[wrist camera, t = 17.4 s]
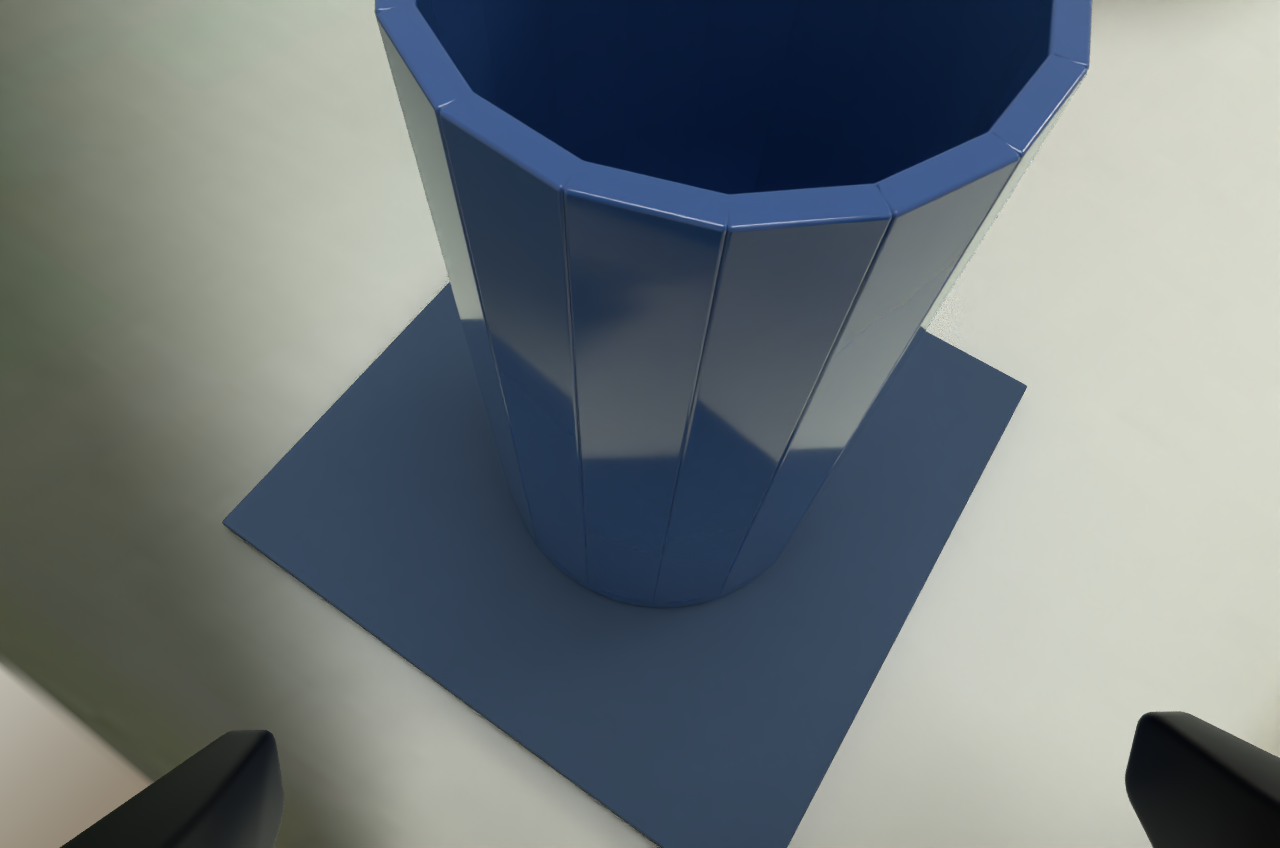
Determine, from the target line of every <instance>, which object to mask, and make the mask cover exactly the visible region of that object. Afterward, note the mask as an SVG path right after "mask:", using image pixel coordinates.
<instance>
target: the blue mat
mask: <svg viewBox="0 0 1280 848" xmlns="http://www.w3.org/2000/svg"><path fill="white" fill-rule="evenodd" d="M1026 388H1027V386H1026V385H1025V384H1023V383H1021V382H1019V381H1017V380H1015V379H1013V378H1012V377H1010V376H1008V375H1006V374H1004V373H1002V372H1000V371H999V370H997V369H995V368H993V367H991V366H989V365H987V364H986V363H984V362H982V361H980V360H978V359H976V358H974V357H973V356H971V355H969V354H967V353H965V352H963V351H961V350H959V349H958V348H956V347H954V346H952V345H950V344H948V343H946V342H945V341H943V340H941V339H939V338H937V337H935V336H933V335H932V334H930V333H928V332H926V331H925V332H924V334H923V335H922V337H921V339H920V340H919V342H918V343H917V345H916V346H915V348H914V350H913V351H912V353H911V354H910V356H909V358H908V359H907V361H906V362H905V364H904V366H903V367H902V369H901V370H900V372H899V374H898V375H897V377H896V378H895V380H894V381H893V383H892V385H891V386H890V388H889V389H888V391H887V393H886V394H885V396H884V397H883V399H882V401H881V402H880V404H879V405H878V407H877V409H876V410H875V412H874V413H873V415H872V416H871V418H870V420H869V421H868V423H867V424H866V426H865V428H864V429H863V431H862V432H861V434H860V436H859V437H858V439H857V440H856V442H855V443H854V445H853V447H852V448H851V450H850V451H849V453H848V455H847V456H846V458H845V459H844V461H843V463H842V464H841V466H840V467H839V469H838V471H837V472H836V474H835V475H834V477H833V478H832V480H831V482H830V483H829V485H828V486H827V488H826V490H825V491H824V493H823V494H822V496H821V498H820V499H819V501H818V502H817V504H816V506H815V507H814V509H813V510H812V512H811V513H810V515H809V517H808V518H807V520H806V521H805V522H804V524H803V525H802V526H801V528H800V529H799V531H798V532H797V533H796V535H795V536H794V538H793V539H792V540H791V542H790V544H789V545H788V547H787V548H786V550H785V551H784V552H783V553H782V554H781V556H780V557H779V558H778V560H777V561H776V562H775V563H774V564H773V565H772V566H771V567H769V568H768V569H767V570H766V571H765V572H764V573H763V574H761V575H760V576H759V577H758V578H756V579H755V580H753V581H752V582H750V583H749V584H747V585H746V586H744V587H743V588H741V589H739V590H737V591H734V592H732V593H730V594H728V595H726V596H724V597H721V598H718V599H715V600H712V601H709V602H706V603H702V604H697V605H691V606H686V607H673V608H655V607H642V606H636V605H632V604H627V603H622V602H618V601H615V600H613V599H610V598H607V597H604V596H601V595H599V594H597V593H595V592H593V591H591V590H589V589H587V588H585V587H583V586H581V585H579V584H578V583H577V582H575V581H574V580H572V579H571V578H569V577H568V576H566V575H565V574H563V573H562V572H561V571H560V570H559V569H558V568H557V567H556V566H555V565H553V564H552V563H551V562H550V561H549V560H548V559H547V558H546V556H545V555H544V554H543V553H542V552H541V551H540V549H539V548H538V547H537V546H536V545H535V543H534V541H533V540H532V538H531V537H530V535H529V534H528V532H527V530H526V529H525V527H524V525H523V522H522V520H521V518H520V516H519V514H518V511H517V508H516V506H515V504H514V502H513V500H512V498H511V497H510V494H509V491H508V487H507V484H506V480H505V477H504V473H503V470H502V466H501V462H500V459H499V455H498V452H497V448H496V445H495V441H494V437H493V434H492V430H491V427H490V423H489V419H488V416H487V412H486V409H485V405H484V402H483V398H482V394H481V391H480V387H479V384H478V380H477V376H476V373H475V369H474V366H473V362H472V359H471V355H470V351H469V348H468V344H467V341H466V337H465V334H464V330H463V326H462V323H461V319H460V316H459V312H458V308H457V305H456V301H455V298H454V294H453V291H452V287H451V283H450V282H449V283H448V284H447V285H446V286H445V287H444V289H443V290H442V291H441V292H440V293H439V294H438V295H437V296H436V297H435V298H434V299H433V300H432V301H431V302H430V303H429V304H428V305H427V306H426V307H425V309H424V310H423V311H422V312H421V313H420V314H419V315H418V316H417V317H416V318H415V319H414V320H413V321H412V322H411V323H410V324H409V325H408V326H407V327H406V329H405V330H404V331H403V332H402V333H401V334H400V335H399V336H398V337H397V338H396V339H395V340H394V341H393V342H392V343H391V344H390V345H389V346H388V348H387V349H386V350H385V351H384V352H383V353H382V354H381V355H380V356H379V357H378V358H377V359H376V360H375V361H374V362H373V363H372V364H371V365H370V366H369V368H368V369H367V370H366V371H365V372H364V373H363V374H362V375H361V376H360V377H359V378H358V379H357V380H356V381H355V382H354V383H353V384H352V385H351V386H350V388H349V389H348V390H347V391H346V392H345V393H344V394H343V395H342V396H341V397H340V398H339V399H338V400H337V401H336V402H335V403H334V404H333V405H332V406H331V408H330V409H329V410H328V411H327V412H326V413H325V414H324V415H323V416H322V417H321V418H320V419H319V420H318V421H317V422H316V423H315V424H314V425H313V427H312V428H311V429H310V430H309V431H308V432H307V433H306V434H305V435H304V436H303V437H302V438H301V439H300V440H299V441H298V442H297V443H296V444H295V445H294V447H293V448H292V449H291V450H290V451H289V452H288V453H287V454H286V455H285V456H284V457H283V458H282V459H281V460H280V461H279V462H278V463H277V464H276V465H275V467H274V468H273V469H272V470H271V471H270V472H269V473H268V474H267V475H266V476H265V477H264V478H263V479H262V480H261V481H260V482H259V483H258V484H257V485H256V487H255V488H254V489H253V490H252V491H251V492H250V493H249V494H248V495H247V496H246V497H245V498H244V499H243V500H242V501H241V502H240V503H239V504H238V506H237V507H236V508H235V509H234V510H233V511H232V512H231V513H230V514H229V515H228V516H227V517H226V518H225V519H224V520H223V522H222V523H223V524H224V525H225V526H226V527H227V528H229V529H230V530H231V531H233V532H234V533H235V534H237V535H238V536H240V537H241V538H242V539H244V540H245V541H246V542H248V543H249V544H250V545H252V546H253V547H254V548H256V549H257V550H259V551H260V552H261V553H263V554H264V555H265V556H267V557H268V558H269V559H271V560H272V561H273V562H275V563H276V564H277V565H279V566H280V567H282V568H283V569H284V570H286V571H287V572H288V573H290V574H291V575H292V576H294V577H295V578H296V579H298V580H299V581H300V582H302V583H303V584H305V585H306V586H307V587H309V588H310V589H311V590H313V591H314V592H315V593H317V594H318V595H319V596H321V597H322V598H324V599H325V600H326V601H328V602H329V603H330V604H332V605H333V606H334V607H336V608H337V609H338V610H340V611H341V612H342V613H344V614H345V615H347V616H348V617H349V618H351V619H352V620H353V621H355V622H356V623H357V624H359V625H360V626H361V627H363V628H364V629H365V630H367V631H368V632H370V633H371V634H372V635H374V636H375V637H376V638H378V639H379V640H380V641H382V642H383V643H384V644H386V645H387V646H389V647H390V648H391V649H393V650H394V651H395V652H397V653H398V654H399V655H401V656H402V657H403V658H405V659H406V660H407V661H409V662H410V663H412V664H413V665H414V666H416V667H417V668H418V669H420V670H421V671H422V672H424V673H425V674H426V675H428V676H429V677H430V678H432V679H433V680H435V681H436V682H437V683H439V684H440V685H441V686H443V687H444V688H445V689H447V690H448V691H449V692H451V693H452V694H454V695H455V696H456V697H458V698H459V699H460V700H462V701H463V702H464V703H466V704H467V705H468V706H470V707H471V708H472V709H474V710H475V711H477V712H478V713H479V714H481V715H482V716H483V717H485V718H486V719H487V720H489V721H490V722H491V723H493V724H494V725H495V726H497V727H498V728H500V729H501V730H502V731H504V732H505V733H506V734H508V735H509V736H510V737H512V738H513V739H514V740H516V741H517V742H519V743H520V744H521V745H523V746H524V747H525V748H527V749H528V750H529V751H531V752H532V753H533V754H535V755H536V756H537V757H539V758H540V759H542V760H543V761H544V762H546V763H547V764H548V765H550V766H551V767H552V768H554V769H555V770H556V771H558V772H559V773H560V774H562V775H563V776H565V777H566V778H567V779H569V780H570V781H571V782H573V783H574V784H575V785H577V786H578V787H579V788H581V789H582V790H584V791H585V792H586V793H588V794H589V795H590V796H592V797H593V798H594V799H596V800H597V801H598V802H600V803H601V804H602V805H604V806H605V807H607V808H608V809H609V810H611V811H612V812H613V813H615V814H616V815H617V816H619V817H620V818H621V819H623V820H624V821H625V822H627V823H628V824H630V825H631V826H632V827H634V828H635V829H636V830H638V831H639V832H640V833H642V834H643V835H644V836H646V837H647V838H649V839H650V840H651V841H653V842H654V843H655V844H657V845H658V846H659V847H661V848H787V846H788V845H789V843H790V841H791V839H792V837H793V835H794V833H795V831H796V829H797V827H798V825H799V823H800V822H801V820H802V818H803V816H804V814H805V812H806V810H807V808H808V806H809V804H810V802H811V800H812V798H813V797H814V795H815V793H816V791H817V789H818V787H819V785H820V783H821V781H822V779H823V777H824V775H825V774H826V772H827V770H828V768H829V766H830V764H831V762H832V760H833V758H834V756H835V754H836V752H837V751H838V749H839V747H840V745H841V743H842V741H843V739H844V737H845V735H846V733H847V731H848V729H849V728H850V726H851V724H852V722H853V720H854V718H855V716H856V714H857V712H858V710H859V708H860V706H861V704H862V703H863V701H864V699H865V697H866V695H867V693H868V691H869V689H870V687H871V685H872V683H873V681H874V680H875V678H876V676H877V674H878V672H879V670H880V668H881V666H882V664H883V662H884V660H885V658H886V657H887V655H888V653H889V651H890V649H891V647H892V645H893V643H894V641H895V639H896V637H897V635H898V634H899V632H900V630H901V628H902V626H903V624H904V622H905V620H906V618H907V616H908V614H909V612H910V611H911V609H912V607H913V605H914V603H915V601H916V599H917V597H918V595H919V593H920V591H921V589H922V587H923V586H924V584H925V582H926V580H927V578H928V576H929V574H930V572H931V570H932V568H933V566H934V564H935V563H936V561H937V559H938V557H939V555H940V553H941V551H942V549H943V547H944V545H945V543H946V541H947V540H948V538H949V536H950V534H951V532H952V530H953V528H954V526H955V524H956V522H957V520H958V518H959V517H960V515H961V513H962V511H963V509H964V507H965V505H966V503H967V501H968V499H969V497H970V495H971V493H972V492H973V490H974V488H975V486H976V484H977V482H978V480H979V478H980V476H981V474H982V472H983V470H984V469H985V467H986V465H987V463H988V461H989V459H990V457H991V455H992V453H993V451H994V449H995V447H996V446H997V444H998V442H999V440H1000V438H1001V436H1002V434H1003V432H1004V430H1005V428H1006V426H1007V424H1008V423H1009V421H1010V419H1011V417H1012V415H1013V413H1014V411H1015V409H1016V407H1017V405H1018V403H1019V401H1020V399H1021V398H1022V396H1023V394H1024V392H1025V390H1026Z"/></svg>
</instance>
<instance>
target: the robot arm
mask: <svg viewBox="0 0 1280 848" xmlns="http://www.w3.org/2000/svg"><path fill="white" fill-rule="evenodd" d="M1125 785H1126V791H1127V794H1128V797H1129V800H1130V802H1131V804H1132V806H1133V808H1134V810H1135V812H1136V814H1137V816H1138V818H1139V820H1140V822H1141V824H1142V826H1143V828H1144V830H1145V832H1146V834H1147V836H1148V838H1149V840H1150V842H1151V844H1152V846H1153V848H1280V758H1278V757H1276V756H1274V755H1272V754H1270V753H1268V752H1266V751H1264V750H1262V749H1260V748H1258V747H1256V746H1254V745H1252V744H1250V743H1248V742H1246V741H1244V740H1242V739H1240V738H1238V737H1236V736H1234V735H1232V734H1230V733H1227V732H1225V731H1223V730H1221V729H1219V728H1217V727H1215V726H1213V725H1211V724H1209V723H1207V722H1205V721H1203V720H1201V719H1199V718H1197V717H1195V716H1193V715H1191V714H1188V713H1185V712H1149V713H1146V714H1144V715H1143V716H1142V717H1141V718H1140V719H1139V721H1138V724H1137V727H1136V731H1135V735H1134V740H1133V744H1132V748H1131V752H1130V757H1129V761H1128V765H1127V769H1126V774H1125ZM283 812H284V790H283V784H282V777H281V771H280V765H279V758H278V752H277V745H276V741H275V738H274V736H273V734H272V733H270V732H269V731H267V730H236V731H230V732H227V733H226V734H224V735H222V736H221V737H219V738H218V739H216V740H215V741H213V742H212V743H210V744H209V745H208V746H206V747H205V748H203V749H202V750H200V751H199V752H197V753H196V754H195V755H193V756H192V757H190V758H189V759H187V760H186V761H184V762H183V763H182V764H180V765H179V766H177V767H176V768H174V769H173V770H171V771H170V772H169V773H167V774H166V775H164V776H163V777H161V778H160V779H158V780H157V781H156V782H154V783H153V784H151V785H150V786H148V787H147V788H145V789H144V790H143V791H141V792H140V793H138V794H137V795H135V796H134V797H132V798H131V799H129V800H128V801H127V802H125V803H124V804H122V805H121V806H119V807H118V808H117V809H115V810H114V811H112V812H111V813H109V814H108V815H106V816H105V817H103V818H102V819H101V820H99V821H98V822H96V823H95V824H93V825H92V826H90V827H89V828H88V829H86V830H85V831H83V832H82V833H80V834H79V835H77V836H76V837H75V838H73V839H72V840H70V841H69V842H67V843H66V844H64V845H63V846H62V847H60V848H274V846H275V842H276V839H277V835H278V832H279V829H280V825H281V822H282V818H283Z"/></svg>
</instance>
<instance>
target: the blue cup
mask: <svg viewBox="0 0 1280 848" xmlns="http://www.w3.org/2000/svg"><path fill="white" fill-rule="evenodd" d="M375 15H376V18H377V22H378V26H379V29H380V33H381V36H382V40H383V43H384V47H385V51H386V54H387V58H388V61H389V65H390V69H391V72H392V76H393V79H394V83H395V86H396V90H397V94H398V97H399V101H400V104H401V108H402V111H403V115H404V119H405V122H406V126H407V129H408V133H409V137H410V140H411V144H412V147H413V151H414V154H415V158H416V162H417V165H418V169H419V172H420V176H421V180H422V183H423V187H424V190H425V194H426V197H427V201H428V205H429V208H430V212H431V215H432V219H433V222H434V226H435V230H436V233H437V237H438V240H439V244H440V248H441V251H442V255H443V258H444V262H445V265H446V269H447V273H448V276H449V280H450V283H451V287H452V291H453V294H454V298H455V301H456V305H457V308H458V312H459V316H460V319H461V323H462V326H463V330H464V334H465V337H466V341H467V344H468V348H469V351H470V355H471V359H472V362H473V366H474V369H475V373H476V376H477V380H478V384H479V387H480V391H481V394H482V398H483V402H484V405H485V409H486V412H487V416H488V419H489V423H490V427H491V430H492V434H493V437H494V441H495V445H496V448H497V452H498V455H499V459H500V462H501V466H502V470H503V473H504V477H505V480H506V484H507V487H508V491H509V494H510V497H511V498H512V500H513V502H514V504H515V506H516V508H517V511H518V514H519V516H520V518H521V520H522V522H523V525H524V527H525V529H526V530H527V532H528V534H529V535H530V537H531V538H532V540H533V541H534V543H535V545H536V546H537V547H538V548H539V549H540V551H541V552H542V553H543V554H544V555H545V556H546V558H547V559H548V560H549V561H550V562H551V563H552V564H553V565H555V566H556V567H557V568H558V569H559V570H560V571H561V572H562V573H563V574H565V575H566V576H568V577H569V578H571V579H572V580H574V581H575V582H577V583H578V584H579V585H581V586H583V587H585V588H587V589H589V590H591V591H593V592H595V593H597V594H599V595H601V596H604V597H607V598H610V599H613V600H615V601H618V602H622V603H627V604H632V605H636V606H642V607H655V608H673V607H686V606H691V605H697V604H702V603H706V602H709V601H712V600H715V599H718V598H721V597H724V596H726V595H728V594H730V593H732V592H734V591H737V590H739V589H741V588H743V587H744V586H746V585H747V584H749V583H750V582H752V581H753V580H755V579H756V578H758V577H759V576H760V575H761V574H763V573H764V572H765V571H766V570H767V569H768V568H769V567H771V566H772V565H773V564H774V563H775V562H776V561H777V560H778V558H779V557H780V556H781V554H782V553H783V552H784V551H785V550H786V548H787V547H788V545H789V544H790V542H791V540H792V539H793V538H794V536H795V535H796V533H797V532H798V531H799V529H800V528H801V526H802V525H803V524H804V522H805V521H806V520H807V518H808V517H809V515H810V513H811V512H812V510H813V509H814V507H815V506H816V504H817V502H818V501H819V499H820V498H821V496H822V494H823V493H824V491H825V490H826V488H827V486H828V485H829V483H830V482H831V480H832V478H833V477H834V475H835V474H836V472H837V471H838V469H839V467H840V466H841V464H842V463H843V461H844V459H845V458H846V456H847V455H848V453H849V451H850V450H851V448H852V447H853V445H854V443H855V442H856V440H857V439H858V437H859V436H860V434H861V432H862V431H863V429H864V428H865V426H866V424H867V423H868V421H869V420H870V418H871V416H872V415H873V413H874V412H875V410H876V409H877V407H878V405H879V404H880V402H881V401H882V399H883V397H884V396H885V394H886V393H887V391H888V389H889V388H890V386H891V385H892V383H893V381H894V380H895V378H896V377H897V375H898V374H899V372H900V370H901V369H902V367H903V366H904V364H905V362H906V361H907V359H908V358H909V356H910V354H911V353H912V351H913V350H914V348H915V346H916V345H917V343H918V342H919V340H920V339H921V337H922V335H923V334H924V332H925V331H926V329H927V327H928V326H929V324H930V323H931V321H932V319H933V318H934V316H935V315H936V313H937V311H938V310H939V308H940V307H941V305H942V304H943V302H944V300H945V299H946V297H947V296H948V294H949V292H950V291H951V289H952V288H953V286H954V284H955V283H956V281H957V280H958V278H959V277H960V275H961V273H962V272H963V270H964V269H965V267H966V265H967V264H968V262H969V261H970V259H971V257H972V256H973V254H974V253H975V251H976V249H977V248H978V246H979V245H980V243H981V242H982V240H983V238H984V237H985V235H986V234H987V232H988V230H989V229H990V227H991V226H992V224H993V222H994V221H995V219H996V218H997V216H998V214H999V213H1000V211H1001V210H1002V208H1003V207H1004V205H1005V203H1006V202H1007V200H1008V199H1009V197H1010V195H1011V194H1012V192H1013V191H1014V189H1015V187H1016V186H1017V184H1018V183H1019V181H1020V180H1021V178H1022V176H1023V175H1024V173H1025V172H1026V170H1027V168H1028V167H1029V165H1030V164H1031V162H1032V160H1033V159H1034V157H1035V156H1036V154H1037V152H1038V151H1039V149H1040V148H1041V146H1042V145H1043V143H1044V141H1045V140H1046V138H1047V137H1048V135H1049V133H1050V132H1051V130H1052V129H1053V127H1054V125H1055V124H1056V122H1057V121H1058V119H1059V117H1060V116H1061V114H1062V113H1063V111H1064V110H1065V108H1066V106H1067V105H1068V103H1069V102H1070V100H1071V98H1072V97H1073V95H1074V94H1075V92H1076V90H1077V89H1078V87H1079V86H1080V84H1081V82H1082V81H1083V79H1084V78H1085V76H1086V75H1087V70H1088V69H1089V62H1090V39H1091V16H1092V0H375Z"/></svg>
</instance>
